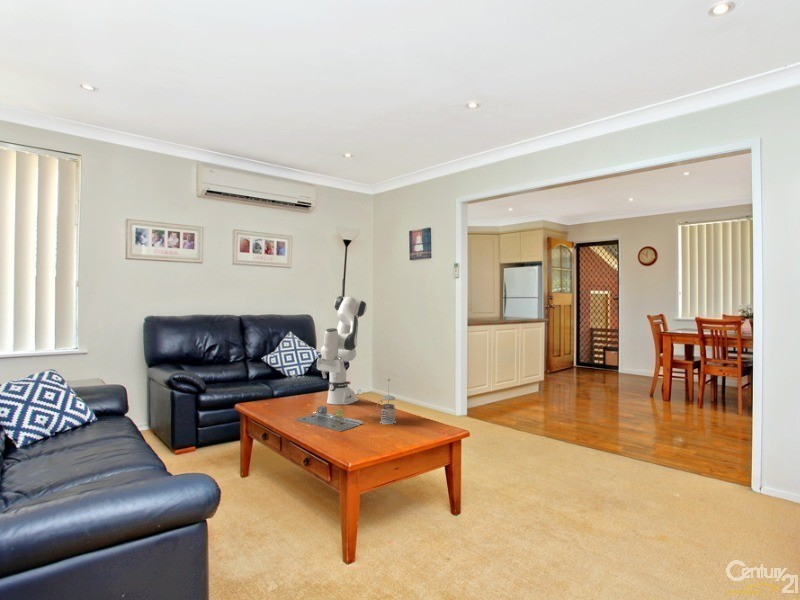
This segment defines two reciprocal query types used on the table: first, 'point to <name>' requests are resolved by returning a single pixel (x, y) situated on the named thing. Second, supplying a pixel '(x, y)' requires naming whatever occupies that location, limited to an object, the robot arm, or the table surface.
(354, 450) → the table surface
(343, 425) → the flange plate
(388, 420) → the french press
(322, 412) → the trammel beam
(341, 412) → the sliding head
